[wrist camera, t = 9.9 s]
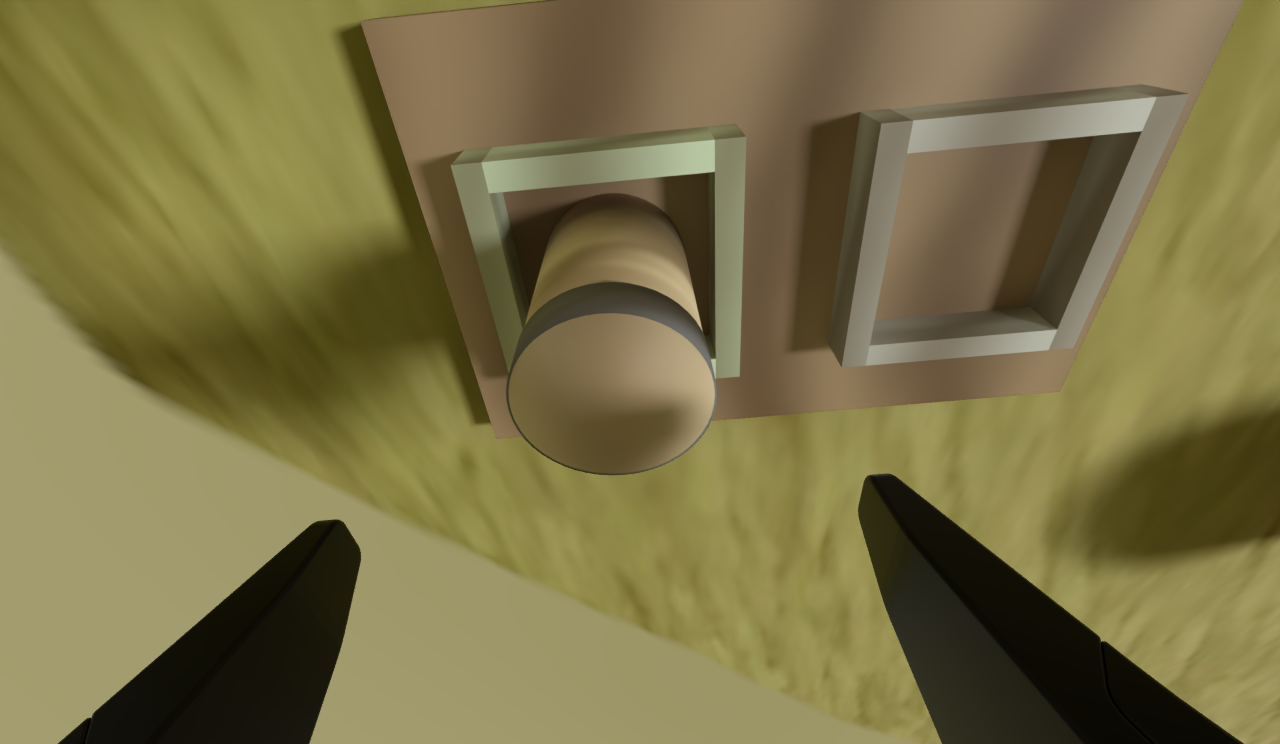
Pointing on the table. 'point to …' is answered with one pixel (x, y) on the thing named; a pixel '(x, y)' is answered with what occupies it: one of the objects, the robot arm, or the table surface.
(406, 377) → the table surface
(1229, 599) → the table surface
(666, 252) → the cylinder
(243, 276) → the table surface
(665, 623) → the table surface
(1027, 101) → the board
